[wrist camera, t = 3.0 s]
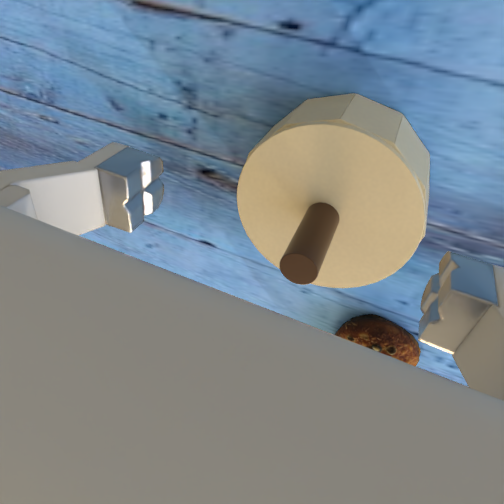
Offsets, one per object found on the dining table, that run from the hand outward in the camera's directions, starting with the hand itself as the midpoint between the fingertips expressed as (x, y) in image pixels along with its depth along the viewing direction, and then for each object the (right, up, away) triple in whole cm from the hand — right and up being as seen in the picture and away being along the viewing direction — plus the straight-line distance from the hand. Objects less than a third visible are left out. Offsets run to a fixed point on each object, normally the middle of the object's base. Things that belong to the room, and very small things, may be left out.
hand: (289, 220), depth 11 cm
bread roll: (+15, -13, +41) cm, 46 cm away
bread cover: (+8, +6, +29) cm, 31 cm away
